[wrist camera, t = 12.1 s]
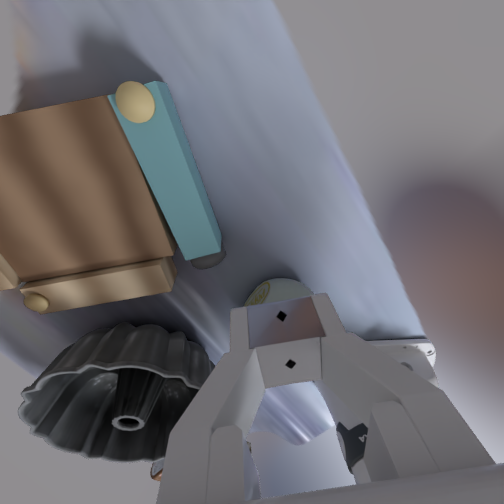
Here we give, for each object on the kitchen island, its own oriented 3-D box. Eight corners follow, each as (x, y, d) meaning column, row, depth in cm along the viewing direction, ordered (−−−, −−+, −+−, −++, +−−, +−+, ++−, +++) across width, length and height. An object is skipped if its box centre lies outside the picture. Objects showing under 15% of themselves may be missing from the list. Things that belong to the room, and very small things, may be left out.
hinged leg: (122, 91, 23) (99, 90, 19) (166, 77, 23) (152, 73, 19) (194, 253, 32) (189, 275, 28) (226, 245, 32) (225, 266, 28)
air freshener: (276, 259, 34) (291, 313, 26) (320, 285, 37) (347, 340, 29) (232, 311, 39) (233, 371, 30) (275, 330, 41) (287, 390, 33)
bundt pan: (205, 409, 52) (200, 470, 44) (63, 394, 46) (26, 461, 38) (246, 321, 40) (250, 382, 31) (60, 284, 34) (2, 347, 25)
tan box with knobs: (123, 92, 23) (102, 90, 20) (188, 270, 34) (183, 291, 30) (-102, 136, 24) (-166, 143, 20) (31, 298, 35) (6, 323, 31)
